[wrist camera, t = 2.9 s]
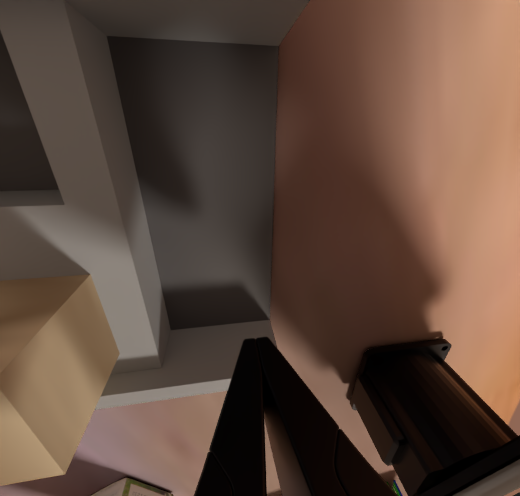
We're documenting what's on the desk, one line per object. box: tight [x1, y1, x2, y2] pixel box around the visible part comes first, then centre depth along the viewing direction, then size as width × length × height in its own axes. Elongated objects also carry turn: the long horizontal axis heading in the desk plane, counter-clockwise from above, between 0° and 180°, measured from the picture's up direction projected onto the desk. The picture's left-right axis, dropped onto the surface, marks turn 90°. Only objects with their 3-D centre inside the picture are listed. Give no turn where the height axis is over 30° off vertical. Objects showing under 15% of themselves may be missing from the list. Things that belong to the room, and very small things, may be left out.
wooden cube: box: [0, 274, 120, 486], centre depth 7 cm, size 4×4×4 cm
